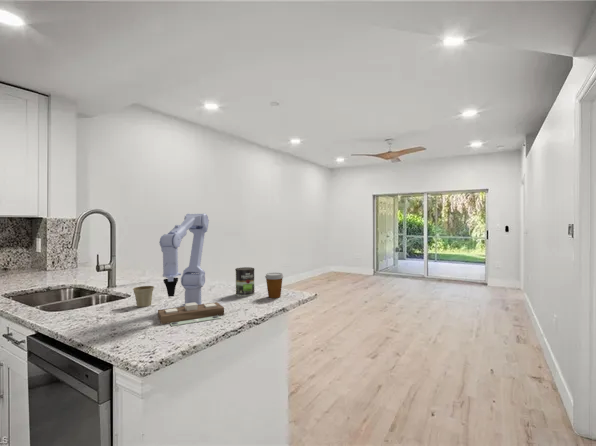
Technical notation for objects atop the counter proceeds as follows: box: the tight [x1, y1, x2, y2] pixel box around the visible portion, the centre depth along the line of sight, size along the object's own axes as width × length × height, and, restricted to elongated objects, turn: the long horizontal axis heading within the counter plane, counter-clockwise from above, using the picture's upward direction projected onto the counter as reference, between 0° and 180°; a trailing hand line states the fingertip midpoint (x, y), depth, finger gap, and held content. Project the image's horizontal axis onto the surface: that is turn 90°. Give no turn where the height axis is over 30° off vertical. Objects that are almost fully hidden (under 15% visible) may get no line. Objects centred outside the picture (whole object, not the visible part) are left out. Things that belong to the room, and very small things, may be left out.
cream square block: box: [165, 307, 178, 314], centre depth 136 cm, size 4×4×3 cm
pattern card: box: [169, 315, 221, 327], centre depth 133 cm, size 4×19×1 cm, turn 119°
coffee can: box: [234, 266, 255, 297], centre depth 180 cm, size 10×10×14 cm
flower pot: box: [132, 285, 155, 308], centre depth 158 cm, size 9×9×9 cm
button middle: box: [184, 302, 198, 311], centre depth 140 cm, size 4×4×3 cm
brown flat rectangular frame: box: [157, 302, 225, 325], centre depth 140 cm, size 11×25×3 cm, turn 119°
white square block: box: [203, 302, 217, 308], centre depth 144 cm, size 4×4×3 cm
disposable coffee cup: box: [264, 272, 284, 299], centre depth 173 cm, size 10×10×12 cm
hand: (171, 296), depth 136 cm, fingers closed
